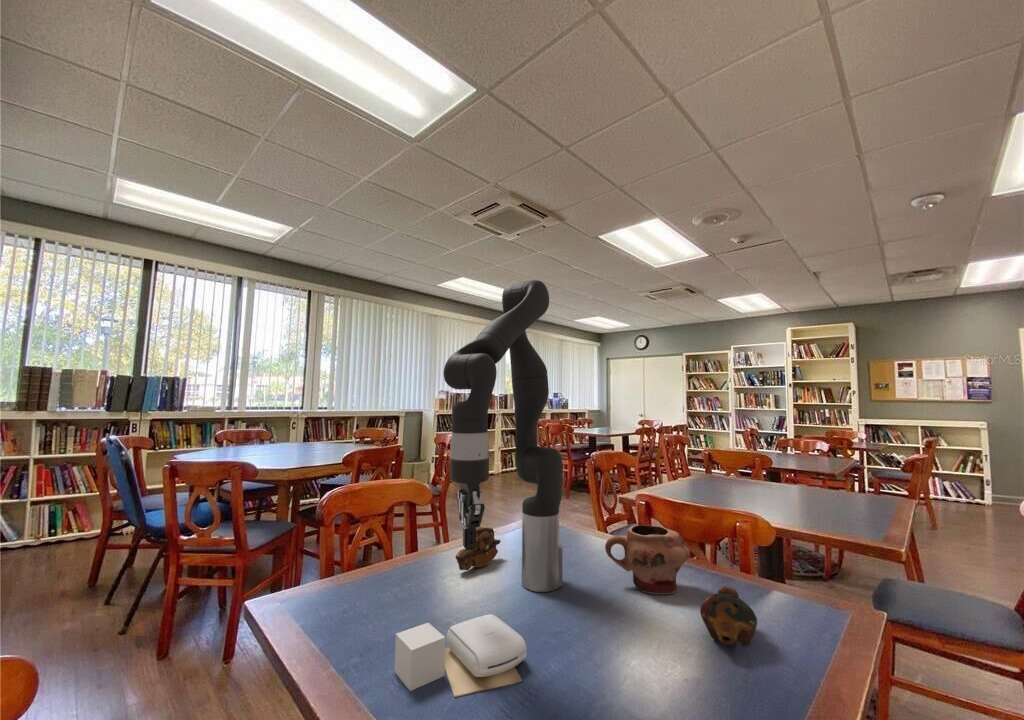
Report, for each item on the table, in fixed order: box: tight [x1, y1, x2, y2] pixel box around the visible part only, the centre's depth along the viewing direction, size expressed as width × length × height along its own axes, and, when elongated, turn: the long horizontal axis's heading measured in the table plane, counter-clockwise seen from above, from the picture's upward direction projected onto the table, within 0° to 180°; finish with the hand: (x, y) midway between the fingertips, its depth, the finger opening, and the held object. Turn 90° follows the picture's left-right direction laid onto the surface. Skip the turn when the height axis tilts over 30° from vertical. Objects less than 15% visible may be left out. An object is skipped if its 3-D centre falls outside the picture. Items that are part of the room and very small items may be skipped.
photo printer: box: [445, 613, 528, 677], centre depth 73 cm, size 10×4×12 cm
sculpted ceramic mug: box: [604, 524, 691, 595], centre depth 103 cm, size 20×12×14 cm, turn 89°
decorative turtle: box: [699, 585, 758, 647], centre depth 80 cm, size 10×15×8 cm, turn 156°
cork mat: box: [444, 646, 523, 698], centre depth 71 cm, size 11×13×1 cm
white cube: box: [393, 622, 446, 692], centre depth 69 cm, size 6×6×6 cm
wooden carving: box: [455, 526, 501, 571], centre depth 115 cm, size 16×5×10 cm, turn 148°
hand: (469, 547), depth 81 cm, fingers closed
